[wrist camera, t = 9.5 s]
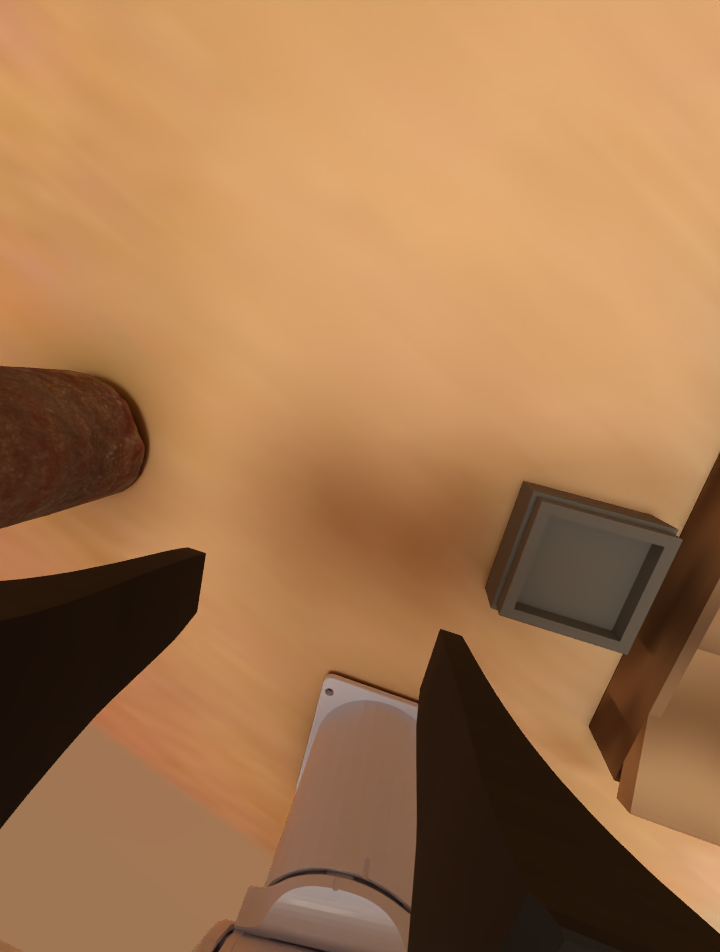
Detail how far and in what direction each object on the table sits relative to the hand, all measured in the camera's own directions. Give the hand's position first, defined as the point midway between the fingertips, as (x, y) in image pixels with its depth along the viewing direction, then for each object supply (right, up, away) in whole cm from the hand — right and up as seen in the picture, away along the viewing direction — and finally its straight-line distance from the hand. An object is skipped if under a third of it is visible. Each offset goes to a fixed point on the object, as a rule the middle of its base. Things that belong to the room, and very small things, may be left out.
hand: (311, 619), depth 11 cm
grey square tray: (+12, 0, +8) cm, 14 cm away
